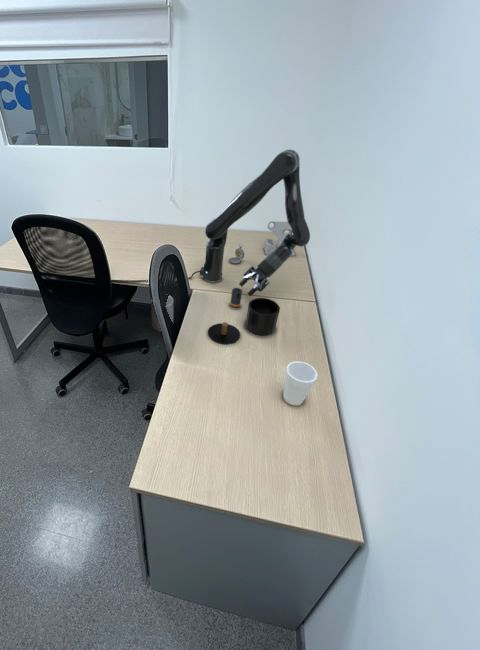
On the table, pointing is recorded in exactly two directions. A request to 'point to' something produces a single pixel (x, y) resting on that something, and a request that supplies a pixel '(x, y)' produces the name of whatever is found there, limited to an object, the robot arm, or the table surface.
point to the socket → (236, 298)
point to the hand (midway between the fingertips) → (244, 290)
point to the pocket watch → (237, 252)
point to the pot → (262, 316)
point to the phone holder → (279, 231)
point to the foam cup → (298, 382)
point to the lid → (224, 333)
